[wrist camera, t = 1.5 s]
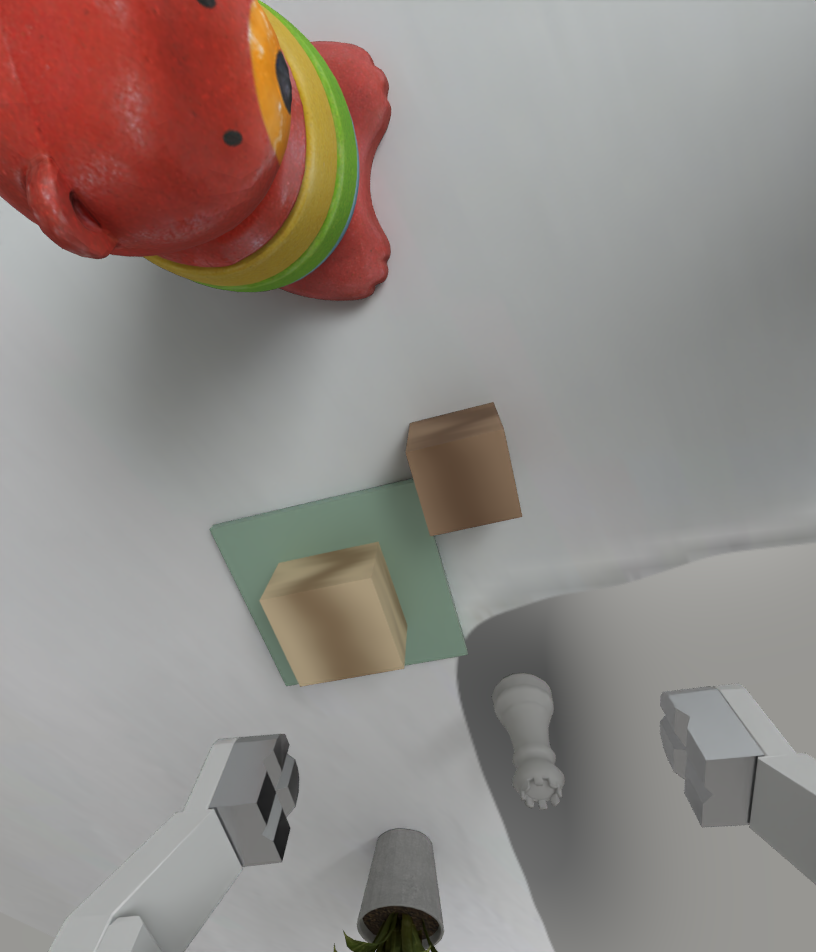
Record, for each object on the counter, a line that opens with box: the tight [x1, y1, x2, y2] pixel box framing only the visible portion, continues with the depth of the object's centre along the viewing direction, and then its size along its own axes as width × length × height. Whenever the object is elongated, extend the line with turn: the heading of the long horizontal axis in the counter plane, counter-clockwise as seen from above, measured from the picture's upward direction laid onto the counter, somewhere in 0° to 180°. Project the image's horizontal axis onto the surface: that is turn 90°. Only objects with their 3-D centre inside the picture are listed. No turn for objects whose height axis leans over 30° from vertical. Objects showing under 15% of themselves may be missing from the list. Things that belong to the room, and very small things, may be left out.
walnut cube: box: [405, 402, 522, 536], centre depth 28 cm, size 5×5×5 cm
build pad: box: [210, 479, 468, 686], centre depth 34 cm, size 14×14×1 cm
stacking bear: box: [0, 0, 391, 301], centre depth 17 cm, size 11×10×18 cm
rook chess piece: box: [492, 673, 565, 810], centre depth 34 cm, size 4×4×8 cm
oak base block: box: [259, 542, 407, 687], centre depth 32 cm, size 7×7×4 cm
